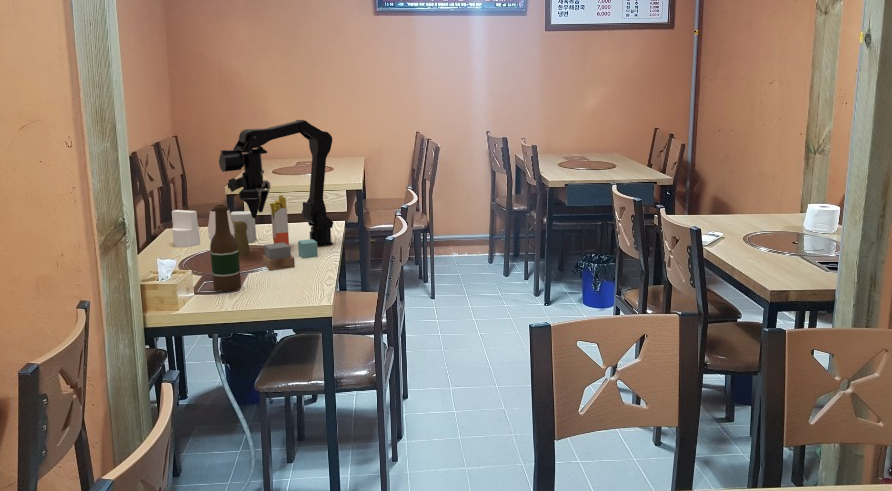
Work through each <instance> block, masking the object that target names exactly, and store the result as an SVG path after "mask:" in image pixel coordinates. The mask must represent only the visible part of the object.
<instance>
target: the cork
mask: <svg viewBox="0 0 892 491" xmlns="http://www.w3.org/2000/svg"><path fill="white" fill-rule="evenodd" d="M234 227H235V240H236V242H237V245H238V252H239V257H243V256H249V255H251V254H250V253H251V249H250V244H249V242H248V239H247V234H246V230H247V224H246V223H245V222H242V221H238V222H234ZM248 254H249V255H248Z"/></svg>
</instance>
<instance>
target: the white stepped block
mask: <svg viewBox="0 0 892 491" xmlns="http://www.w3.org/2000/svg"><path fill="white" fill-rule="evenodd" d="M197 212H198V211H197V210H188V209H187V210H185V209H184V210H183V209H174V210H172V211H171V218H172V219H171V221H172V228H171V230H172V243H173V246H174V247H175V248H191V247H195V246H199V245H201V237H200V236H201V234H200V226H199V224H198V223H199V222H198V214H197Z"/></svg>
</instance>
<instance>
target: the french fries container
mask: <svg viewBox="0 0 892 491" xmlns="http://www.w3.org/2000/svg"><path fill="white" fill-rule="evenodd" d="M269 207H270V212H271V226H272V227H271V228H272V229H271V230H272V239H273V244H275V243H283V242H284V243H286V244H287V245H289V246H290V237H289V223H288V220H289V218H288V208H287V199H286V197H284V195H283V194H282V195H278V200H277V199H275V201H274V202H271V203H269Z"/></svg>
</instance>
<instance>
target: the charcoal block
mask: <svg viewBox="0 0 892 491" xmlns="http://www.w3.org/2000/svg"><path fill="white" fill-rule="evenodd" d="M263 251H264V255H265V256H266V257H267V258H268V259H270V260H274V259H282V258H289V257H291V246H290V244H289V245H287V244H286V243H284V242H283V243H275V244H274V243H270V244H267V243H266V244H264V245H263Z"/></svg>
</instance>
